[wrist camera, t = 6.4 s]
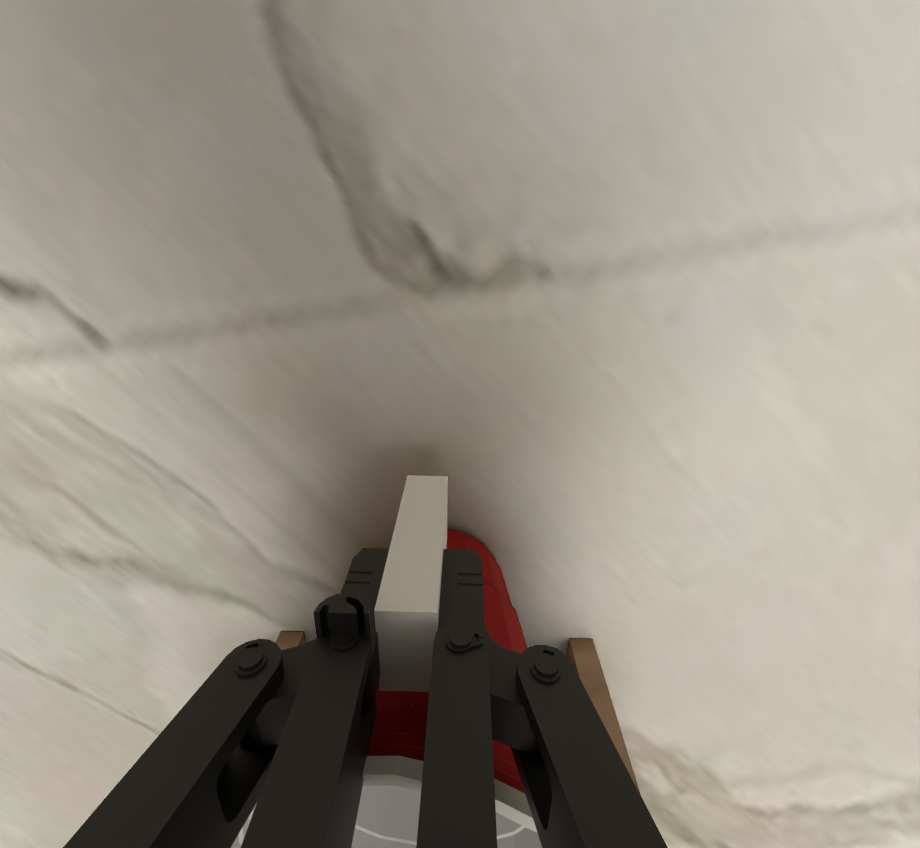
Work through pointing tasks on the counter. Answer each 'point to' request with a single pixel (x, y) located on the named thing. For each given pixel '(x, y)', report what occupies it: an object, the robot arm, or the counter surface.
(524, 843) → the plastic cup
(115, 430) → the counter surface
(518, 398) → the counter surface
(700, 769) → the counter surface
